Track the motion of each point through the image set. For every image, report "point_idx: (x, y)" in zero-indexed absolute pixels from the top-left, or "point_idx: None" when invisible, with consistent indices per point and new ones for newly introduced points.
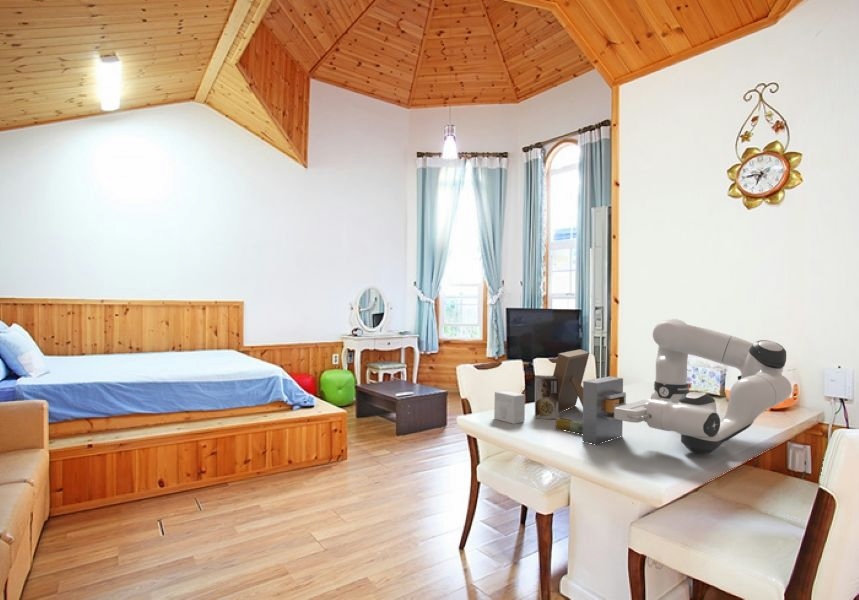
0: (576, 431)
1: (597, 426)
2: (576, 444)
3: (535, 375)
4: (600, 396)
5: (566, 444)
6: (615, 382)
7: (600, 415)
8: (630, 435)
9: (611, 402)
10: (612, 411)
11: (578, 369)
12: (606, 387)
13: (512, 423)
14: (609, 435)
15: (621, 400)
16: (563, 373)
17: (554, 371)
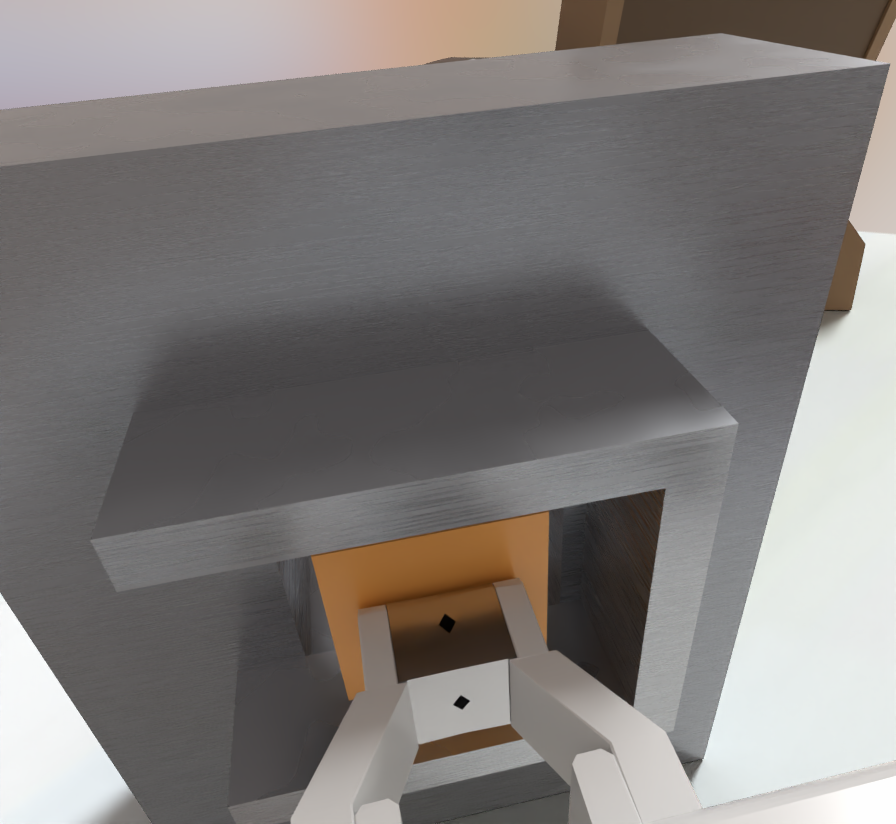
0: None
1: (148, 768)
2: (88, 760)
3: (448, 58)
4: (56, 450)
5: (27, 723)
6: (586, 163)
7: (177, 672)
8: (828, 759)
9: (316, 568)
10: (347, 685)
11: (810, 9)
12: (234, 279)
13: None
14: (450, 787)
15: (631, 524)
16: (597, 38)
17: (560, 25)
